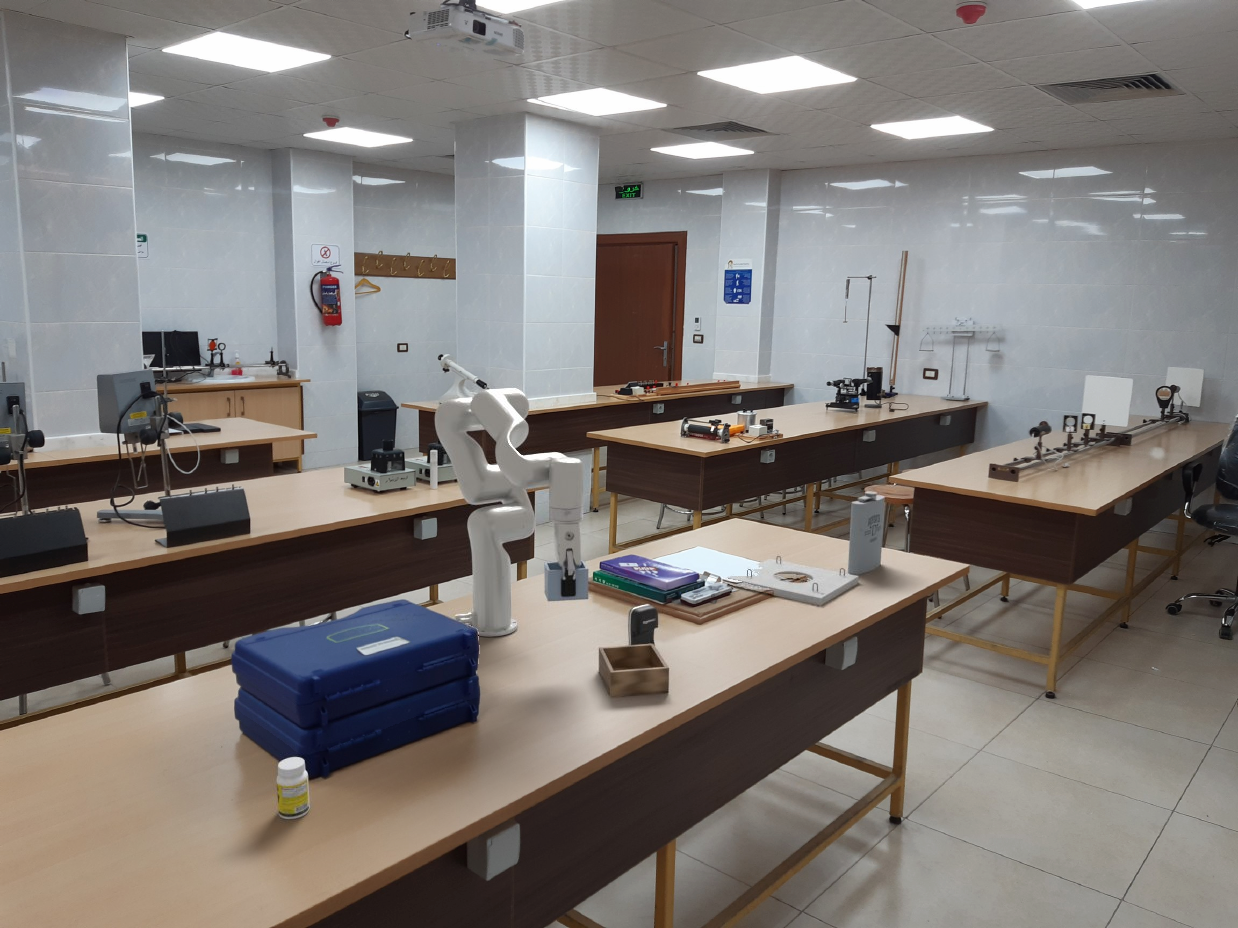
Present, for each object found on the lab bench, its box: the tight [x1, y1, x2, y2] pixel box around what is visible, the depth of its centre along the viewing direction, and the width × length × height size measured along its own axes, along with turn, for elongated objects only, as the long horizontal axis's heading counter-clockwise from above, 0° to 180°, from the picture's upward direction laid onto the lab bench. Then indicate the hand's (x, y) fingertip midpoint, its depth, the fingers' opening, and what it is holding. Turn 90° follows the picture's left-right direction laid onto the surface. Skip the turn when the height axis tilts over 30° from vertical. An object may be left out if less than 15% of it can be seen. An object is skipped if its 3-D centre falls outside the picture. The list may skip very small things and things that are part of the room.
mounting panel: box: [727, 555, 860, 606], centre depth 258 cm, size 27×5×30 cm
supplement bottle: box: [275, 756, 311, 820], centre depth 137 cm, size 5×5×8 cm
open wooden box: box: [598, 643, 670, 698], centre depth 188 cm, size 12×14×6 cm
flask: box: [847, 490, 886, 576], centre depth 273 cm, size 17×5×25 cm, turn 138°
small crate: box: [544, 560, 589, 602], centre depth 194 cm, size 9×6×7 cm
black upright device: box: [627, 603, 659, 647], centre depth 203 cm, size 7×4×11 cm, turn 128°
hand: (566, 590), depth 194 cm, fingers closed on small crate, 6 cm apart
